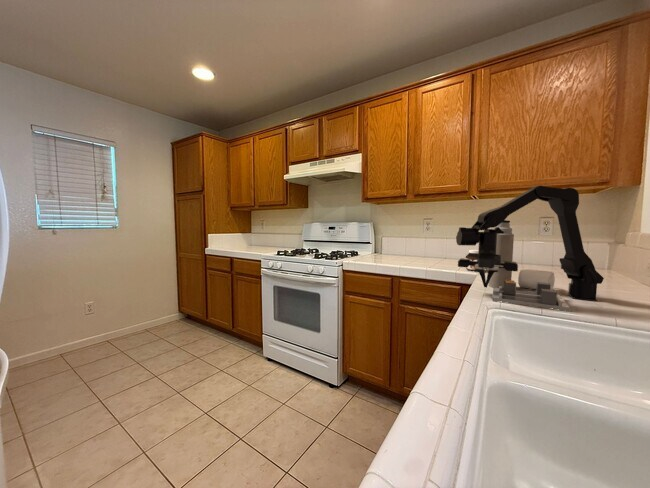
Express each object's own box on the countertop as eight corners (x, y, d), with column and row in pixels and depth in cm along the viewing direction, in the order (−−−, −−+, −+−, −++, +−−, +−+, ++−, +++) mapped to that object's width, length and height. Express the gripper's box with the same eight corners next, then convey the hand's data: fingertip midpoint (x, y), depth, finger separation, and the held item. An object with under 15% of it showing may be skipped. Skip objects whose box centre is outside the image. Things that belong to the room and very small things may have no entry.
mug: (547, 293, 102) (549, 273, 102) (517, 288, 110) (518, 269, 110) (557, 289, 109) (558, 269, 109) (527, 284, 117) (528, 266, 117)
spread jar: (462, 269, 154) (463, 249, 154) (475, 268, 159) (476, 249, 158) (482, 273, 144) (483, 251, 143) (495, 271, 148) (496, 251, 148)
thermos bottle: (493, 283, 118) (496, 220, 116) (514, 287, 112) (518, 220, 109) (484, 286, 114) (488, 220, 112) (505, 289, 107) (509, 220, 105)
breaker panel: (559, 298, 95) (560, 283, 94) (570, 311, 81) (571, 294, 80) (493, 290, 106) (494, 277, 105) (492, 300, 92) (493, 285, 91)
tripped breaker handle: (515, 293, 96) (515, 280, 96) (515, 295, 93) (516, 282, 93) (503, 291, 98) (504, 279, 98) (503, 293, 95) (504, 281, 95)
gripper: (456, 246, 97) (455, 288, 98) (519, 248, 87) (517, 295, 88) (460, 244, 106) (458, 282, 108) (518, 246, 96) (515, 289, 97)
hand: (485, 287), depth 100 cm, fingers closed
